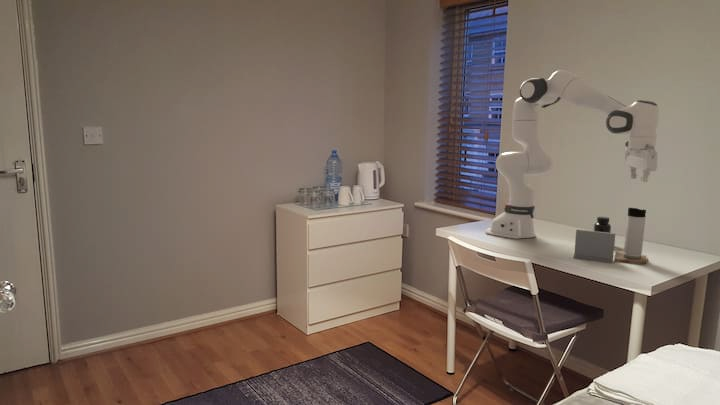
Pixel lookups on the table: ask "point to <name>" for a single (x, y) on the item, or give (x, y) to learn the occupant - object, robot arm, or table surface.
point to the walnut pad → (621, 258)
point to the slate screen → (594, 246)
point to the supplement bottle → (602, 225)
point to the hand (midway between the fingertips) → (638, 180)
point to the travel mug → (634, 233)
